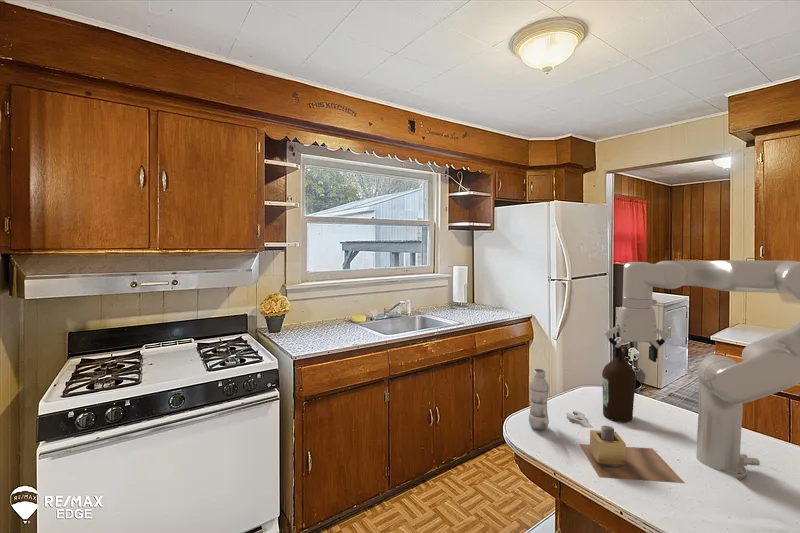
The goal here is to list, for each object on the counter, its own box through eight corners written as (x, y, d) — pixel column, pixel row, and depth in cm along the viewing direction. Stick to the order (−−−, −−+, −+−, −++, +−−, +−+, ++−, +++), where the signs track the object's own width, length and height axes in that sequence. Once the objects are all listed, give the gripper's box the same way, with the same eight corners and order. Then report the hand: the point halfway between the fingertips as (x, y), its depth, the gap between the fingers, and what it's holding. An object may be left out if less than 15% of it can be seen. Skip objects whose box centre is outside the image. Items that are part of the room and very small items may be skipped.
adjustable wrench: (619, 452, 121) (619, 446, 120) (598, 453, 121) (598, 447, 120) (580, 415, 146) (580, 410, 145) (562, 415, 145) (562, 411, 145)
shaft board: (652, 453, 119) (653, 417, 118) (684, 488, 102) (686, 447, 101) (578, 448, 122) (579, 414, 121) (598, 482, 105) (600, 442, 104)
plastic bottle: (536, 433, 131) (537, 375, 130) (524, 424, 138) (525, 368, 136) (552, 430, 133) (554, 373, 132) (540, 422, 140) (541, 366, 138)
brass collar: (614, 451, 116) (615, 431, 115) (625, 464, 109) (625, 443, 108) (589, 449, 117) (590, 430, 116) (598, 463, 110) (598, 442, 109)
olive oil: (631, 412, 146) (633, 346, 145) (637, 425, 136) (639, 354, 135) (599, 408, 150) (601, 344, 148) (603, 421, 140) (605, 351, 138)
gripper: (661, 302, 120) (659, 357, 121) (601, 301, 122) (599, 355, 123) (675, 306, 112) (673, 365, 113) (611, 305, 115) (609, 363, 116)
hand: (635, 360), depth 118 cm, fingers open, 9 cm apart
